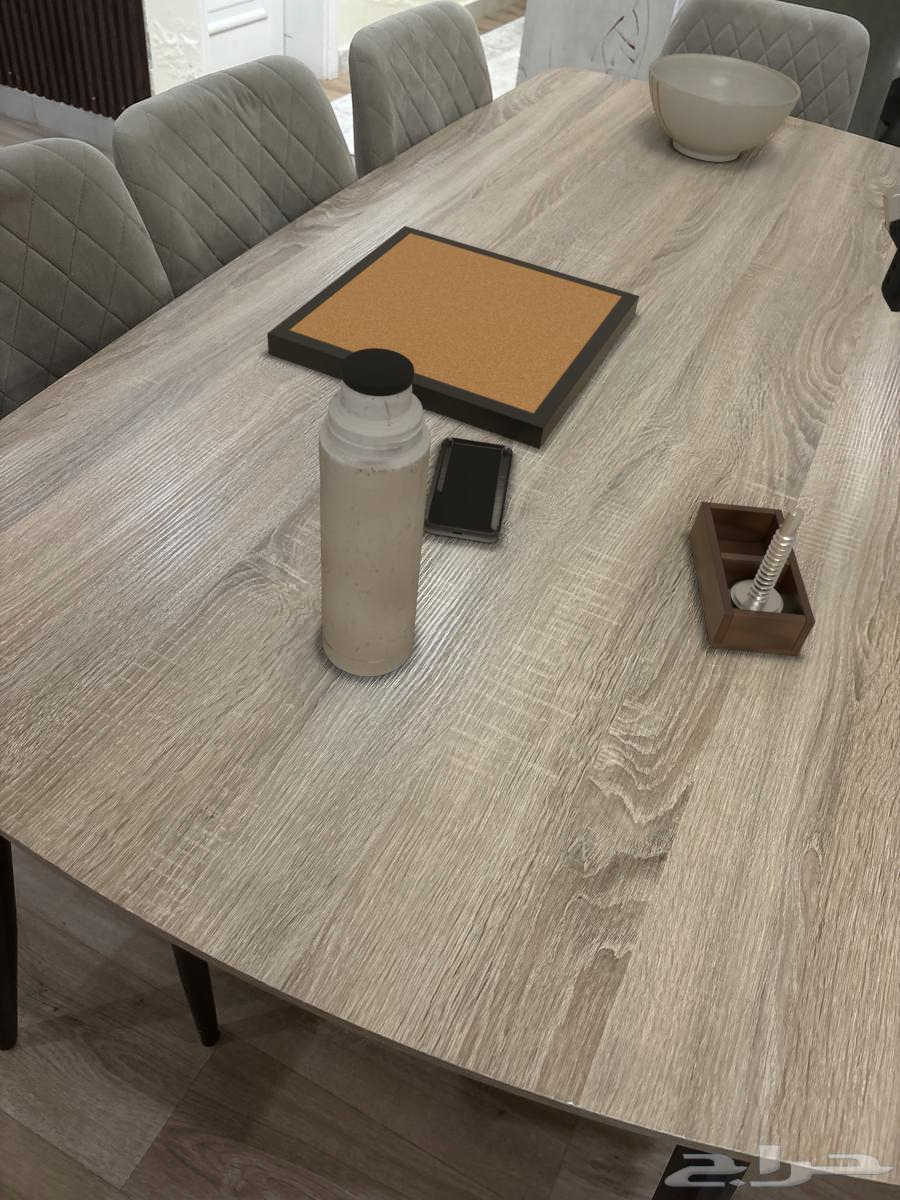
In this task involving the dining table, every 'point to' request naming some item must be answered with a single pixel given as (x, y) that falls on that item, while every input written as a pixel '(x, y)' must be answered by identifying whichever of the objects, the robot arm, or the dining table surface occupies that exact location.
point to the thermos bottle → (372, 512)
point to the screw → (769, 570)
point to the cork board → (465, 330)
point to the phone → (468, 490)
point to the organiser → (734, 553)
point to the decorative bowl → (718, 103)
